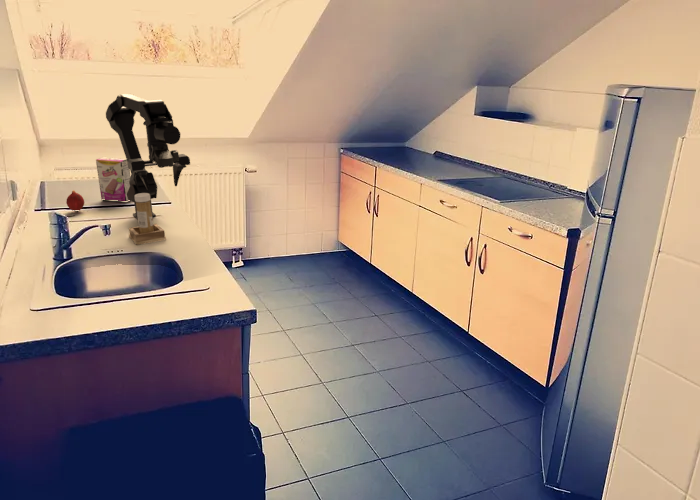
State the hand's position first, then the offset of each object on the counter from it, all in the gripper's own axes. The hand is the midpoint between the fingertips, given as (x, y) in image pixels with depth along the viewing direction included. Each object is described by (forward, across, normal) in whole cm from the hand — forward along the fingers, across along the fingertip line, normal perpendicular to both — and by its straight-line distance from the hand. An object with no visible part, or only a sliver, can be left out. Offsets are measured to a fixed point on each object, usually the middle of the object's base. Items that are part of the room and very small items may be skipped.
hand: (162, 187), depth 188 cm
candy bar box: (+13, -6, +41) cm, 43 cm away
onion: (+13, -22, +33) cm, 42 cm away
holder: (+13, -9, -10) cm, 19 cm away
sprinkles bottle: (+12, -9, -10) cm, 18 cm away
